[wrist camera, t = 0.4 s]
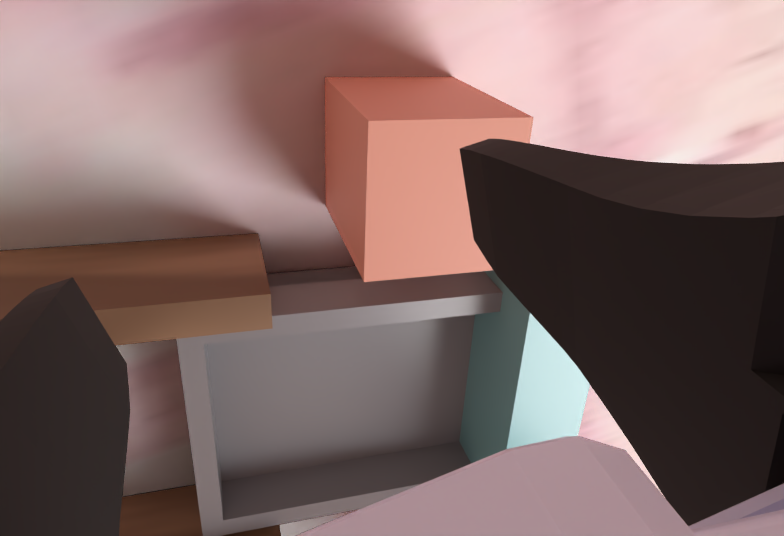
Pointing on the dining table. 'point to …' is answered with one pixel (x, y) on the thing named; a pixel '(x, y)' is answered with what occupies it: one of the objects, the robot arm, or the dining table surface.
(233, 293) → the caddy
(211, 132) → the dining table surface
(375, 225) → the brick-red block
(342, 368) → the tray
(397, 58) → the dining table surface
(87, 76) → the dining table surface
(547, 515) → the robot arm
